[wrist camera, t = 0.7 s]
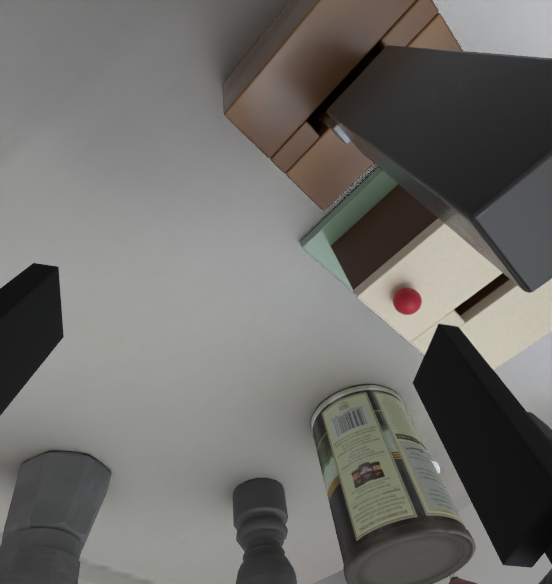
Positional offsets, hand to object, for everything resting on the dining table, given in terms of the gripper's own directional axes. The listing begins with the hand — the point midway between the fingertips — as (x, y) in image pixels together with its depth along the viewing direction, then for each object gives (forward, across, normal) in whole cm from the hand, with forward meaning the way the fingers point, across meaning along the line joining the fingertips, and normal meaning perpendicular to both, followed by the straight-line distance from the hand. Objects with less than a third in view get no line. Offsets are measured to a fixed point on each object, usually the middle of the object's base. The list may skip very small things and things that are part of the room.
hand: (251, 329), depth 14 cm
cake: (+17, +15, 0) cm, 22 cm away
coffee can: (+20, +14, -22) cm, 32 cm away
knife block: (+15, +1, +9) cm, 18 cm away
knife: (+14, +1, +9) cm, 17 cm away
